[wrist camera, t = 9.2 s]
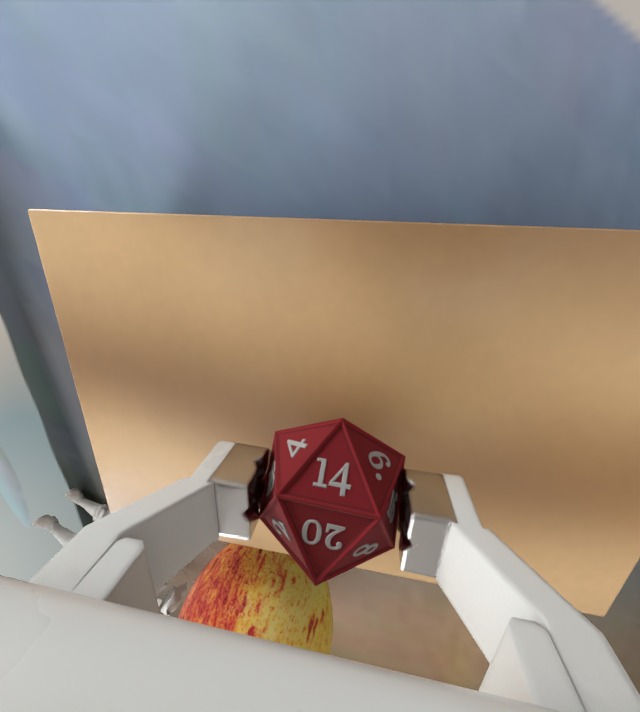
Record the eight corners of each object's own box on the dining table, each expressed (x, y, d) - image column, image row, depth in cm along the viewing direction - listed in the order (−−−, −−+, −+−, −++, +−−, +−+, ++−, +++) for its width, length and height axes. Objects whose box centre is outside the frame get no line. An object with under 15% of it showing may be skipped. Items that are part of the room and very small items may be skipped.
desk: (157, 223, 16) (26, 208, 10) (618, 241, 13) (837, 236, 7) (186, 441, 21) (111, 520, 15) (525, 492, 18) (604, 617, 12)
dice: (409, 394, 9) (434, 496, 5) (382, 503, 11) (388, 640, 7) (290, 374, 10) (237, 455, 6) (281, 482, 11) (236, 599, 7)
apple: (246, 475, 21) (146, 656, 12) (362, 528, 21) (355, 753, 12) (215, 552, 24) (119, 739, 15) (315, 598, 24) (280, 814, 15)
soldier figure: (102, 456, 24) (200, 567, 21) (133, 464, 29) (219, 558, 25) (4, 544, 21) (101, 689, 18) (56, 538, 26) (141, 655, 22)
